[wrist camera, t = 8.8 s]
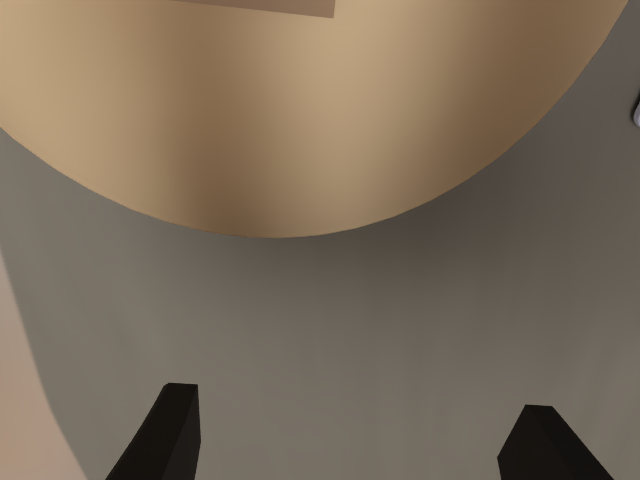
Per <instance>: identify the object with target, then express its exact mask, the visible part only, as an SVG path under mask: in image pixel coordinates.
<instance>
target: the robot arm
mask: <svg viewBox="0 0 640 480" xmlns="http://www.w3.org/2000/svg"><path fill="white" fill-rule="evenodd" d="M633 118H634V122H635V123H636V125H638V126H639V127H640V103H639V105H638V107H637V109H636V111H635V114H634V117H633ZM200 444H201V435H200V417H199V399H198V385H197V384H181V383H168V384H166V385H164V386H163V388H162V390H161V392H160V394H159V396H158V398H157V400H156V401H155V403H154V405H153V407H152V408H151V410H150V412H149V413H148V415H147V417H146V418H145V420H144V422H143V423H142V425H141V427H140V428H139V430H138V431H137V433H136V435H135V436H134V438H133V439H132V441H131V442H130V444H129V445H128V447H127V448H126V450H125V451H124V453H123V454H122V456H121V457H120V459H119V460H118V462H117V463H116V465H115V466H114V467H113V469H112V470H111V472H110V473H109V475H108V476H107V478H106V479H105V480H194V479H195V473H196V468H197V462H198V456H199V450H200ZM497 459H498V464H499V470H500V475H501V480H614V479H613V478H612V477H611V476H610V475H609V473H608V472H607V471H606V470H605V469H604V467H603V466H602V465H601V464H600V463H599V461H598V460H597V459H596V458H595V457H594V456H593V454H592V453H591V452H590V451H589V450H588V448H587V447H586V446H585V445H584V444H583V442H582V441H581V440H580V439H579V438H578V436H577V435H576V434H575V433H574V432H573V430H572V429H571V428H570V427H569V426H568V424H567V423H566V422H565V421H564V420H563V418H562V417H561V416H560V415H559V414H558V412H557V411H556V410H555V409H554V408H553V407H552V406H541V405H525V407H524V408H523V410H522V412H521V414H520V416H519V418H518V420H517V422H516V423H515V425H514V427H513V429H512V431H511V433H510V435H509V436H508V438H507V440H506V442H505V444H504V446H503V448H502V449H501V451H500V453H499V455H498V457H497Z"/></svg>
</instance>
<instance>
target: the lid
mask: <svg viewBox="0 0 640 480" xmlns="http://www.w3.org/2000/svg"><path fill="white" fill-rule="evenodd" d="M628 1H629V0H0V127H1V128H2V129H3V130H4V131H6V132H7V133H8V134H9V135H10V136H11V137H12V138H14V139H15V140H16V141H18V142H19V143H20V144H22V145H23V146H24V147H26V148H27V149H28V150H30V151H31V152H33V153H34V154H35V155H37V156H38V157H39V158H41V159H42V160H44V161H45V162H46V163H48V164H49V165H50V166H52V167H53V168H55V169H56V170H58V171H60V172H62V173H63V174H65V175H67V176H68V177H70V178H72V179H73V180H75V181H77V182H78V183H80V184H82V185H83V186H85V187H87V188H88V189H90V190H92V191H94V192H96V193H98V194H100V195H102V196H104V197H106V198H109V199H111V200H113V201H115V202H117V203H119V204H121V205H123V206H126V207H128V208H130V209H132V210H135V211H138V212H141V213H144V214H146V215H149V216H152V217H155V218H158V219H160V220H163V221H166V222H169V223H173V224H177V225H181V226H185V227H189V228H193V229H197V230H202V231H206V232H212V233H219V234H227V235H234V236H241V237H262V238H290V237H303V236H315V235H323V234H329V233H334V232H339V231H344V230H349V229H354V228H359V227H362V226H365V225H369V224H372V223H375V222H378V221H381V220H385V219H388V218H391V217H394V216H397V215H399V214H401V213H404V212H406V211H408V210H411V209H413V208H415V207H417V206H420V205H422V204H424V203H427V202H429V201H431V200H433V199H435V198H436V197H438V196H440V195H442V194H443V193H445V192H447V191H449V190H450V189H452V188H454V187H456V186H458V185H459V184H461V183H463V182H465V181H466V180H468V179H469V178H471V177H472V176H473V175H475V174H476V173H478V172H479V171H480V170H482V169H483V168H484V167H486V166H487V165H489V164H490V163H491V162H493V161H494V160H496V159H497V158H498V157H500V156H501V155H502V154H504V153H505V152H506V151H507V150H508V149H509V148H510V147H511V146H513V145H514V144H515V143H516V142H517V141H518V140H519V139H520V138H522V137H523V136H524V135H525V134H526V133H527V132H528V131H529V130H531V129H532V128H533V127H534V126H535V125H536V124H537V123H538V122H539V121H540V120H541V119H542V118H543V117H544V115H545V114H546V113H547V112H548V111H549V110H550V109H551V108H552V107H553V106H554V105H555V103H556V102H557V101H558V100H559V99H560V98H561V97H562V96H563V95H564V94H565V92H566V91H567V90H568V89H569V88H570V87H571V86H572V84H573V83H574V82H575V80H576V79H577V78H578V76H579V75H580V74H581V72H582V71H583V70H584V68H585V67H586V66H587V64H588V63H589V61H590V60H591V59H592V57H593V56H594V55H595V53H596V52H597V51H598V49H599V48H600V47H601V45H602V44H603V42H604V41H605V39H606V37H607V36H608V34H609V32H610V31H611V29H612V27H613V26H614V24H615V23H616V21H617V19H618V18H619V16H620V14H621V13H622V11H623V9H624V8H625V6H626V4H627V3H628Z"/></svg>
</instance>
